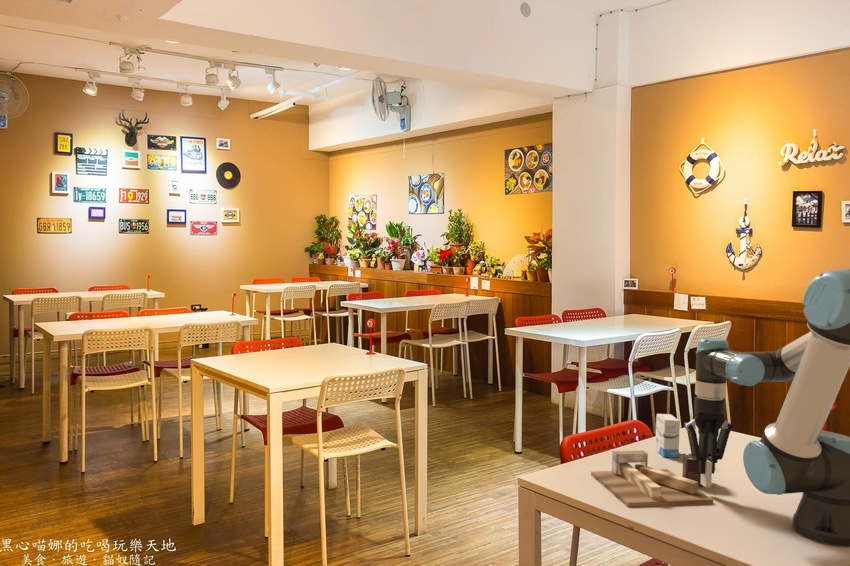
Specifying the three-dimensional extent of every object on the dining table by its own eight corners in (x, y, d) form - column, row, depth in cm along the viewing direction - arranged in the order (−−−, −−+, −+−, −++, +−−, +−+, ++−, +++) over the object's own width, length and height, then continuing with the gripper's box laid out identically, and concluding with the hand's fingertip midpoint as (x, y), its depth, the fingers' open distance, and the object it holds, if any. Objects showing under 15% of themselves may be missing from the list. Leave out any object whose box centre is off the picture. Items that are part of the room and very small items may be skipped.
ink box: (678, 458, 218) (680, 420, 217) (663, 457, 218) (664, 420, 217) (669, 449, 227) (671, 413, 226) (654, 449, 227) (655, 413, 226)
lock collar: (647, 473, 198) (647, 453, 198) (616, 474, 197) (616, 454, 197) (642, 470, 201) (643, 450, 201) (611, 471, 200) (612, 451, 200)
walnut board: (713, 503, 180) (713, 499, 180) (627, 506, 176) (627, 502, 176) (667, 472, 204) (667, 469, 204) (591, 475, 200) (591, 471, 200)
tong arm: (632, 474, 197) (633, 465, 197) (638, 473, 199) (638, 463, 198) (692, 493, 183) (693, 483, 183) (697, 492, 184) (698, 481, 184)
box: (708, 487, 192) (710, 460, 192) (685, 485, 193) (686, 459, 193) (704, 480, 198) (705, 454, 198) (681, 478, 199) (682, 452, 199)
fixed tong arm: (660, 498, 180) (661, 487, 180) (651, 499, 179) (651, 487, 179) (624, 471, 201) (624, 460, 201) (616, 471, 201) (616, 461, 200)
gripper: (725, 393, 189) (720, 479, 191) (679, 394, 187) (675, 481, 189) (741, 400, 182) (736, 489, 183) (694, 400, 180) (689, 491, 181)
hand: (705, 485), depth 186 cm, fingers closed
